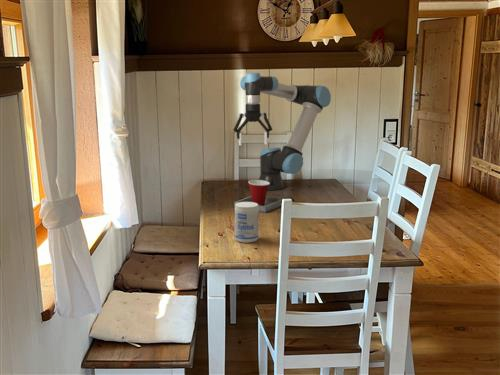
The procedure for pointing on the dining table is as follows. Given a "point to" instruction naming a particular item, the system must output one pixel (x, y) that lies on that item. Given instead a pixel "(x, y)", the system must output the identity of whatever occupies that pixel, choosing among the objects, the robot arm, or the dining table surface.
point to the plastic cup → (258, 191)
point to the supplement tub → (246, 221)
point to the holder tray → (268, 206)
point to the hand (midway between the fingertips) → (252, 144)
